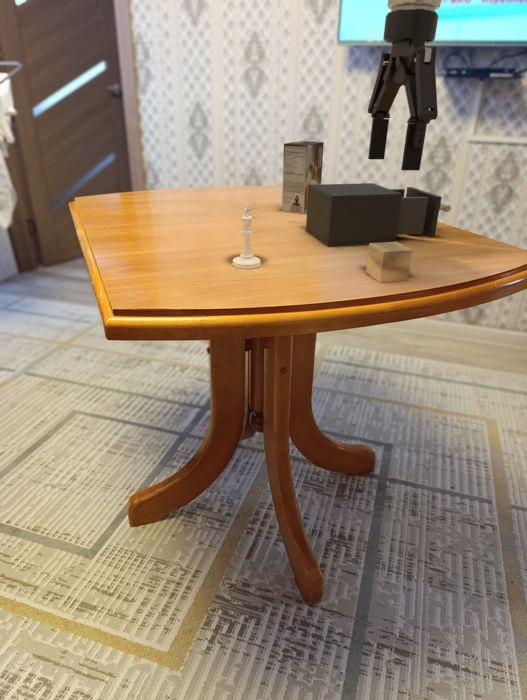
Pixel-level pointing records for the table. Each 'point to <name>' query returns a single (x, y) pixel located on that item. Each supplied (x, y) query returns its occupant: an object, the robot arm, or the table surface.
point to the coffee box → (300, 173)
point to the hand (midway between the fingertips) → (392, 164)
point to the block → (388, 261)
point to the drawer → (419, 212)
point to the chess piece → (246, 244)
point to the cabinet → (352, 214)
